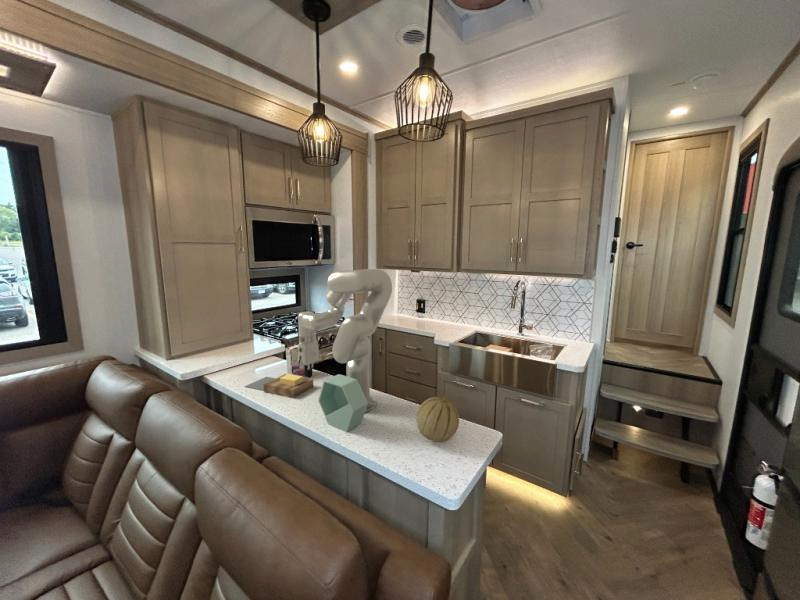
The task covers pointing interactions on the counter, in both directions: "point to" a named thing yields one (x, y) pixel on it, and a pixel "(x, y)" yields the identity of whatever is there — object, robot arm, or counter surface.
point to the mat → (259, 383)
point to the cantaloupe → (437, 419)
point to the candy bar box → (293, 361)
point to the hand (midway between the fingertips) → (308, 376)
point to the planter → (342, 402)
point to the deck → (287, 387)
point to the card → (291, 379)
